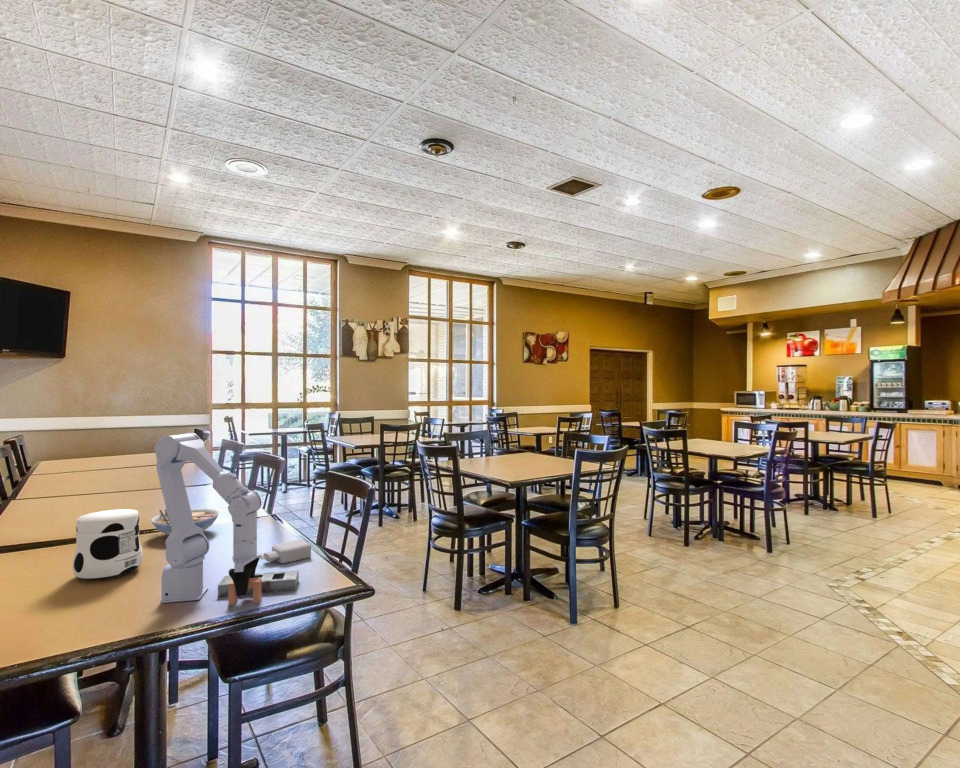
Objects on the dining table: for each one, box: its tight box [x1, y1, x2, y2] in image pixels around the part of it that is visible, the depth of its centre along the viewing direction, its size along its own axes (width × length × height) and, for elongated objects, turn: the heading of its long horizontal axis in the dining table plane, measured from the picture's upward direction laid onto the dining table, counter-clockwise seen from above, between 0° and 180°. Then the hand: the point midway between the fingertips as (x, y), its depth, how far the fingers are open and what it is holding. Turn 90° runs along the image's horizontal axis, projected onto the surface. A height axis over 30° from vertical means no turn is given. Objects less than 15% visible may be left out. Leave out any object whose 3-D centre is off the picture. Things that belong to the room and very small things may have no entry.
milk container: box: [71, 508, 144, 581], centre depth 157 cm, size 17×17×18 cm
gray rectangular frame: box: [217, 570, 300, 597], centre depth 146 cm, size 20×7×3 cm, turn 102°
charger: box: [260, 538, 312, 564], centre depth 170 cm, size 5×9×15 cm
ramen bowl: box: [150, 508, 220, 536], centre depth 198 cm, size 25×23×8 cm
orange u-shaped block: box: [228, 577, 262, 606], centre depth 137 cm, size 8×3×6 cm, turn 102°
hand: (245, 589), depth 137 cm, fingers open, 7 cm apart
